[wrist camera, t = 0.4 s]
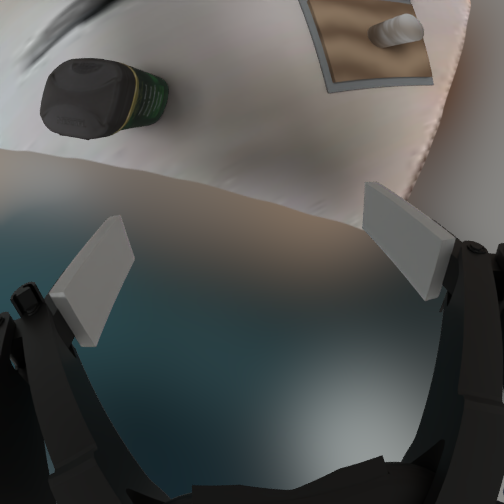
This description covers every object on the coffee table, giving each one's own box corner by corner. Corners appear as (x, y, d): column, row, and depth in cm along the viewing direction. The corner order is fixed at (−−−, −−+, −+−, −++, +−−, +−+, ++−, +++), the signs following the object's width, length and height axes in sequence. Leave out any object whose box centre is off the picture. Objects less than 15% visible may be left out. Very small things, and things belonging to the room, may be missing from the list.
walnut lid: (306, 1, 26) (329, -24, 17) (408, 5, 25) (444, -6, 16) (332, 82, 33) (364, 78, 24) (428, 76, 32) (468, 78, 23)
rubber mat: (296, -5, 26) (297, -6, 25) (408, 0, 24) (409, -1, 24) (327, 93, 34) (328, 93, 34) (432, 84, 33) (433, 85, 32)
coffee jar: (176, 78, 32) (134, 58, 16) (160, 129, 35) (109, 150, 19) (116, 68, 29) (44, 55, 13) (102, 118, 33) (27, 136, 17)
